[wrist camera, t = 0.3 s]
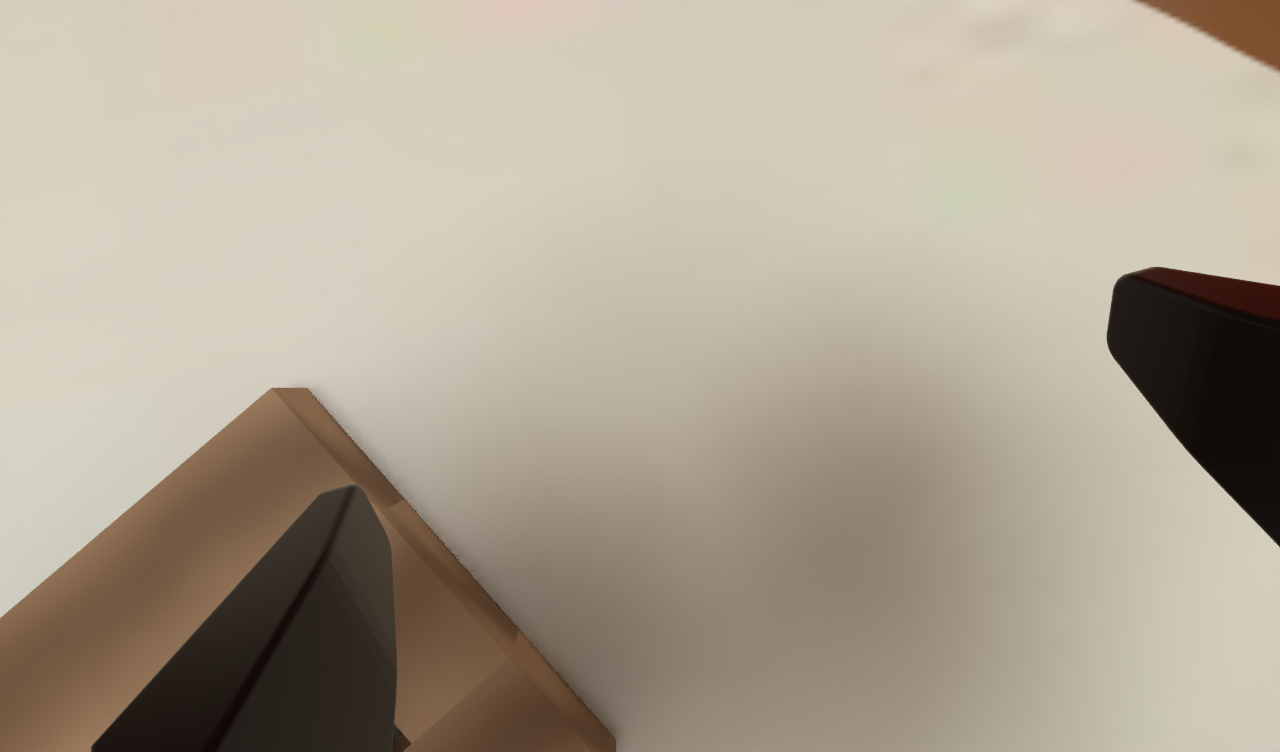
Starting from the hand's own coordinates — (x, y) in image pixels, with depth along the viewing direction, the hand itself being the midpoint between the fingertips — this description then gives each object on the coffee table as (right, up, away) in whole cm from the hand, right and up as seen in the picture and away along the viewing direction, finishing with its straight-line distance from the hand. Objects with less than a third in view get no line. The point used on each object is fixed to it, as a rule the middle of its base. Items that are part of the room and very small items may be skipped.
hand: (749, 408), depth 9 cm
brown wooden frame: (-11, -9, +14) cm, 20 cm away
